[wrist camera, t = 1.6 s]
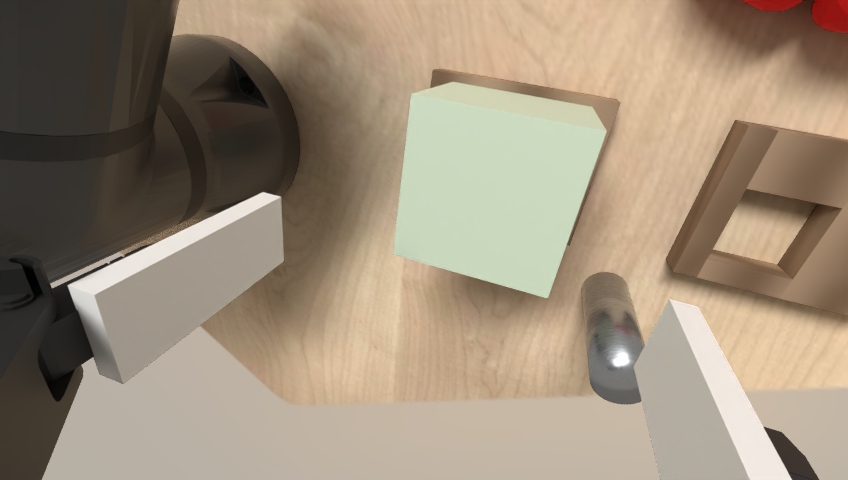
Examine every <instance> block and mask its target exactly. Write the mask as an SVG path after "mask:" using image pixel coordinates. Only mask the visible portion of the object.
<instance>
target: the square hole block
mask: <svg viewBox="0 0 848 480" xmlns="http://www.w3.org/2000/svg"><path fill="white" fill-rule="evenodd" d="M746 189H750V190H755V191H760V192H765V193H770V194H775V195H779V196H784V197H789V198H794V199H799V200H804V201H809V202H814V203H818V205H817V206H816V208H815V209H814V211H813V212H812V214H811V215H810V217H809V218H808V220H807V221H806V223H805V224H804V226H803V227H802V229H801V230H800V232H799V233H798V235H797V236H796V238H795V239H794V241H793V242H792V244H791V245H790V247H789V248H788V250H787V251H786V253H785V254H784V256H783V257H782V259H781V261H780V262H779V264H778V265H775V264H771V263H767V262H763V261H759V260H754V259H750V258H746V257H742V256H738V255H733V254H729V253H725V252H721V251H717V250H712V249H713V247H714V246H715V244H716V242H717V240H718V239H719V237H720V235H721V233H722V231H723V230H724V228H725V226H726V224H727V222H728V221H729V219H730V217H731V215H732V213H733V212H734V210H735V208H736V206H737V204H738V203H739V201H740V199H741V197H742V196H743V194H744V192H745V190H746ZM666 259H667V261H668V263H669V265H670V267H671V269H672V271H673V272H676V273H680V274H684V275H688V276H692V277H696V278H700V279H704V280H708V281H712V282H716V283H720V284H724V285H728V286H732V287H736V288H740V289H744V290H747V291H751V292H755V293H759V294H763V295H767V296H771V297H775V298H779V299H783V300H787V301H791V302H795V303H799V304H803V305H807V306H811V307H815V308H819V309H823V310H827V311H831V312H834V313H838V314H842V315H846V316H848V140H847V139H841V138H836V137H830V136H824V135H818V134H813V133H807V132H801V131H795V130H790V129H784V128H778V127H772V126H767V125H761V124H755V123H749V122H744V121H738V120H735V122H734V124H733V126H732V128H731V130H730V132H729V134H728V136H727V138H726V140H725V142H724V144H723V146H722V148H721V150H720V152H719V154H718V156H717V158H716V160H715V162H714V164H713V166H712V168H711V170H710V172H709V174H708V176H707V178H706V180H705V182H704V184H703V186H702V188H701V190H700V192H699V194H698V196H697V198H696V200H695V202H694V204H693V206H692V208H691V210H690V212H689V214H688V216H687V218H686V220H685V222H684V224H683V226H682V228H681V230H680V232H679V234H678V236H677V238H676V240H675V242H674V244H673V246H672V248H671V250H670V252H669V254H668V256H667V258H666Z"/></svg>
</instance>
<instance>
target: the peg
mask: <svg viewBox="0 0 848 480" xmlns="http://www.w3.org/2000/svg"><path fill="white" fill-rule="evenodd" d="M582 300H583V311H584V322H585V333H586V344H587V355H588V365H589V376H590V384H591V386H592V388H593V390H594V391H595V392H596V393H597V394H598V395H599V396H600V397H602V398H603V399H605V400H607V401H610V402H613V403H617V404H634V403H638V402H641V401H642V400H641V396H640V392H639V387H638V383H637V379H636V375H635V371H634V365H635V363H636V361H637V359H638V357H639V356H640V354H641V352H642V350H643V348H644V346H645V344H644V341H643V337H642V334H641V331H640V327H639V324H638V320H637V317H636V313H635V310H634V306H633V303H632V300H631V296H630V293H629V289H628V286H627V284H626V282H625V281H624V280H623V279H622V278H621V277H620V276H618V275H616V274H613V273H608V272H602V273H597V274H594V275H592V276H590V277H589V278H587V279H586V280H585V282H584V283H583V286H582Z"/></svg>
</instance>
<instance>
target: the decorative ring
mask: <svg viewBox="0 0 848 480" xmlns="http://www.w3.org/2000/svg"><path fill="white" fill-rule="evenodd" d="M742 1H744V2H745V3H747V4H749V5H751V6H753V7H755V8H757V9H759V10H763V11H783V10H787V9H790V8H793V7H794V6H796V5H797V4H799V3H800V2H802V1H805V0H742ZM812 15H813V21H814V22H815V23H816V24H817V25H819V26H820V27H822V28H824V29H826V30H827V31H834V32H842V33H848V0H815V1H814V3H813V6H812Z"/></svg>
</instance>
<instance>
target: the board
mask: <svg viewBox="0 0 848 480" xmlns="http://www.w3.org/2000/svg"><path fill="white" fill-rule="evenodd" d="M450 82H458V83H463V84H469V85H474V86H480V87H485V88H491V89H497V90H502V91H508V92H513V93H519V94H524V95H530V96H535V97H541V98H547V99H552V100H558V101H563V102H569V103H574V104H580V105H585V106H591V107H593V109H594V110H595V112H596V114H597V115H598V117H599V119H600V120H601V122H602V124H603V125H604V127H605V129H606V130H607V132H606V135H605V138H604V141H603V144H602V146H601V149H600V152H599V155H598V158H597V160H596V163H595V166H594V169H593V172H592V175H591V177H590V180H589V183H588V186H587V189H586V192H585V194H584V197H583V200H582V203H581V206H580V209H579V211H578V214H577V217H576V220H575V223H574V226H573V228H572V231H571V234H570V237H569V240H568V243H567V245H570V243H571V240H572V237H573V234H574V232H575V229H576V226H577V223H578V221H579V218H580V215H581V212H582V209H583V207H584V204H585V201H586V198H587V195H588V193H589V190H590V187H591V184H592V181H593V179H594V176H595V173H596V170H597V167H598V165H599V162H600V159H601V156H602V153H603V151H604V148H605V145H606V142H607V139H608V137H609V134H610V131H611V128H612V125H613V123H614V120H615V117H616V114H617V111H618V109H619V106H620V102H619V101H618V100H617V99H612V98H606V97H600V96H594V95H589V94H583V93H577V92H571V91H566V90H560V89H554V88H549V87H543V86H537V85H531V84H526V83H520V82H514V81H508V80H503V79H497V78H491V77H485V76H480V75H474V74H468V73H462V72H457V71H451V70H445V69H435V70H433V72H432V80H431V87H430V88H433V87H436V86H440V85H443V84H447V83H450Z"/></svg>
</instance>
